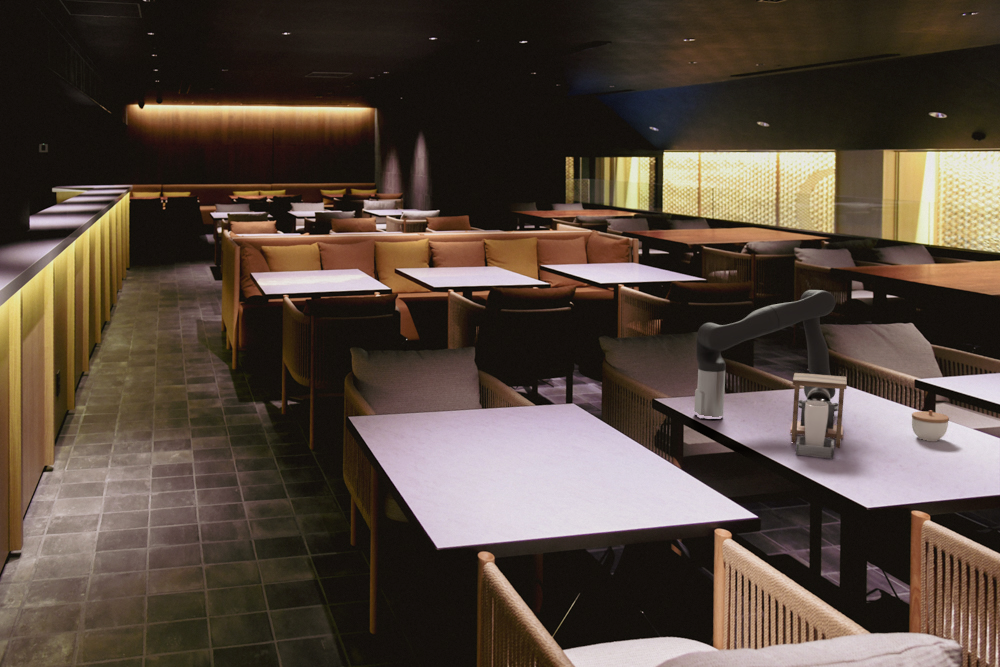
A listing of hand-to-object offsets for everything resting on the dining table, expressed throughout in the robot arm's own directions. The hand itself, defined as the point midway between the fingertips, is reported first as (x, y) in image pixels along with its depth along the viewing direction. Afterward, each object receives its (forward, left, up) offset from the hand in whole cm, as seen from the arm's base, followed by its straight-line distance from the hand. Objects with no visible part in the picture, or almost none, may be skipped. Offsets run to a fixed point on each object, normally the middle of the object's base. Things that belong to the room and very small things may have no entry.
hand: (817, 411), depth 280 cm
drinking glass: (-9, -16, -8) cm, 20 cm away
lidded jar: (+34, -8, -8) cm, 36 cm away
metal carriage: (-6, -11, -8) cm, 15 cm away
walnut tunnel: (-4, -6, -8) cm, 11 cm away
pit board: (+2, +4, -8) cm, 9 cm away
